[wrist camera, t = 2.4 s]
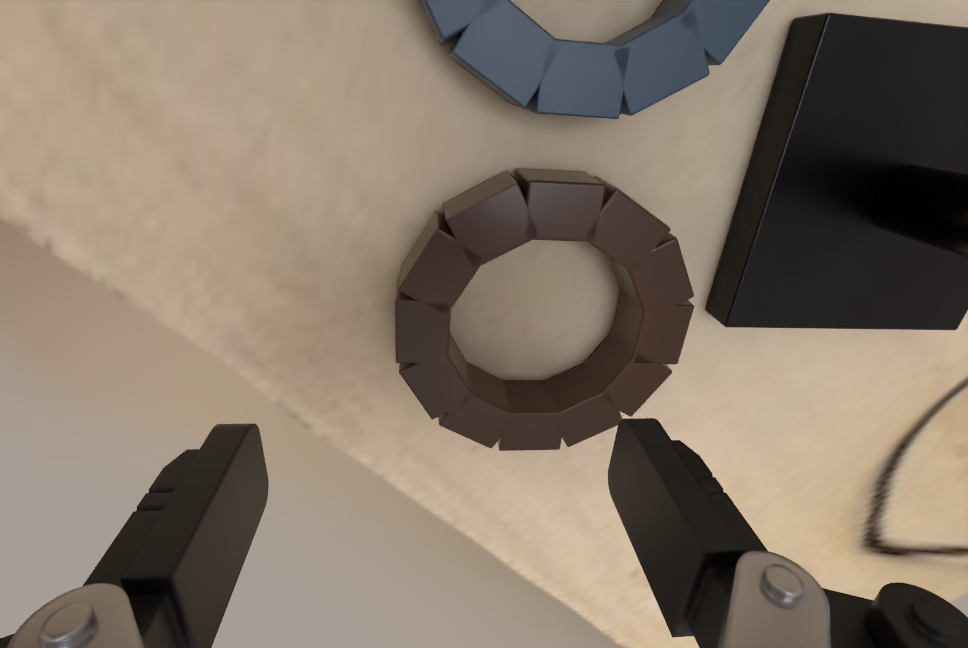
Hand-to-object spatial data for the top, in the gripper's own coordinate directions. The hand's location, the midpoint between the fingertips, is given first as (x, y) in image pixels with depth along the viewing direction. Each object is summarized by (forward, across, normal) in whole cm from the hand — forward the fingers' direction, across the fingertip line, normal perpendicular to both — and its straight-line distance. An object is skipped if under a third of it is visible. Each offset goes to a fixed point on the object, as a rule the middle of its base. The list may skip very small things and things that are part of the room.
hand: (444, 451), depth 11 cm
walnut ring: (+8, -4, 0) cm, 9 cm away
